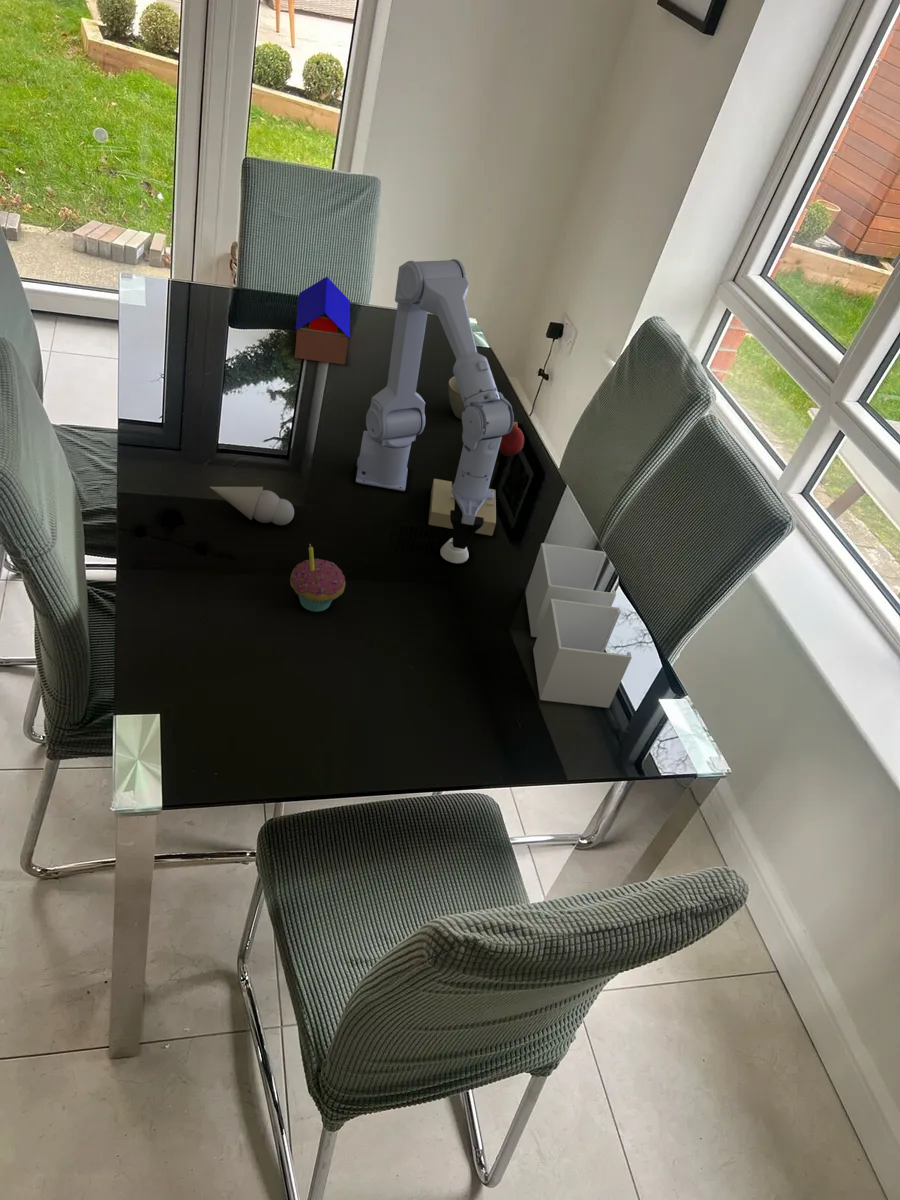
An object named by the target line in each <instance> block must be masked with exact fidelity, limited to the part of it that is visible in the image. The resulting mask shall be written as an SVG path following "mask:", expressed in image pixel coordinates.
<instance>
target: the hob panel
mask: <svg viewBox="0 0 900 1200" xmlns="http://www.w3.org/2000/svg"><path fill="white" fill-rule="evenodd" d="M431 485H432V486H431V491H430V501H429V513H428V523H427V524H428V525H430V526H434V527H440V528H444V529H445V528H446V529H450V530H453V526H452V523H451V520H450V511H451V510H454V507H455V499H454V496H453V494H452V481H449V480H444V479H439V478H433V482H432V484H431ZM488 490H491V491H493V492H494V497H493V500H486V501H485V502H484V504H483V505H482V506H481V508H480V509H479V511H478V512H477V513H476V516H477V517H482V518H484V523H483V525H482V527H481V528H479V529H478V530H477V531H476V532H475V533H474V534H479V535H485V536H491V537H493V535H494V532H495V528H496V524H497V506H496V505H497V503H496V502H497V500H496V499H497V497H496V494H497V493H496V491H497V490H496V489H493V488H490V487H489V488H488Z"/></svg>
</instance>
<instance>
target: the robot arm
mask: <svg viewBox="0 0 900 1200" xmlns="http://www.w3.org/2000/svg"><path fill="white" fill-rule="evenodd" d="M469 286H470V284H469V281H468V275H467V271H466V269H465V266H464V265H463V263H462V262H461V261H460V260H459V259H456V258H453V259H449V260H448V259H447V260H421V261H420V260H419V261H414V260H408V261H406V262H404V263H402V264H401V265H399V267H398V272H397V279H396V287H395V296H394V302H395V303H397V305H396V312H395V313H396V314H395V321H394V330H393V335H392V343H391V351H390V360H389V368H388V375H387V383H386V386H385V387H384V388H383V389H381V390H380V391H378V392H377V393H376V394H375V395H373V396H372V397H371V400H370V405H369V408H368V410H367V412H366V415H365V426H366V430H364V431H363V433H362V438H361V445H360V451H359V456H358V457H357V461H356V467H357V468H356V469H357V470H356V477H355V483H357V484H361V485H368V486H372V487H377V488H384V489H389V490H395V491H399V492H400V491H401V492H405V491H406V488H407V479H408V470H409V468H408V463H409V457H410V451H411V447H412V444H413V443H412V442H415V441H416V439H417V436H419V435H421V434H422V433H423V432H424V429H425V426H426V414H425V406H426V402H425V400H424V399H423V397H422V396H421V395H420V393H418V392H417V386H418V381H419V380H418V379H419V372H420V366H421V361H422V360H421V359H422V352H423V347H424V346H423V345H424V339H425V334H426V333H425V332H426V327H427V326H426V325H427V320H428V319H427V318H428V313H429V314H432V315H434V316H437V317H438V319H439V322H440V324H441V326H442V330H443V331H444V333H445V337H446V338H447V340H448V343H449V345H450V348H451V350H452V353H453V355H454V357H455V363H454V364H453V367H452V373H453V375H454V376H455V379H456V382H457V385H458V388H459V391H460V394H461V397H462V400H463V403H464V407H465V411H464V412H462V420H461V424H462V435H461V439H462V443H463V445H462V449H461V453H460V457H459V462H458V467H457V470H456V476H455V478H454V479H452V481H451V482H452V494H453V496H454V499H455V507H454V510H451V511H450V520H451V523H452V526H453V529H452V538H453V547H455V548H461V549H465V548H466V547H468V545H469V543H470V541H471V539H472V538H473V536H474V535H475V534H476V533H475V532H476V531H477V530H478V529H479V528H481V527H482V525H483V523H484V518H482V517H477V516H476V513H477V512H478V511H479V509H480V508H481V506H482V505H483V504H484V502H485V501H486V500H493V497H494V492H493V491H491V490H488V488H489V489H490V484H491V481H492V476H493V473H494V469H495V465H496V461H497V458H498V453H499V446H500V443H501V439H502V437H501V436H503V435H506V434H508V433H510V431H511V430H512V428H513V424H514V422H515V418H514V417H515V415H514V411H513V406H512V404H511V403H510V401H509V400H508V399H507V398H505V396H504V394H503V393H502V392H501V391H500V392H499V391H498V388H497V385H496V382H495V379H494V375H493V373H492V369H491V367H490V364H489V361H488V358H487V357H486V356H485V355H483V354H481V353H479V352H478V350H477V345H476V341H475V338H474V334H473V329H472V326H471V320H470V316H469V313H468V308H467V304H466V298H467V295H468V293H469ZM454 376H453V377H454Z"/></svg>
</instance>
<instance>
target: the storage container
mask: <svg viewBox="0 0 900 1200" xmlns="http://www.w3.org/2000/svg"><path fill="white" fill-rule="evenodd" d="M606 559H607V553H606V551H601V550H594V549H587V548H580V547H573V546H567V545H558V544H552V543H546V542H541V544H540V546H539V550H538V553H537V556H536V560H535V562H534V565H533V568H532V571H531V574H530V578H529V580H528V584H527V587H526V589H525V599H526V608H527V614H528V616H527V617H528V623H529V629H530V637H532V638H536V639H535V642H534V646H533V647H532V648H533V649H532V653H533V659H534V667H535V674H536V681H537V683H536V684H537V689H538V696H539V697H538V698H539V701H547V702H555V703H564V704H573V705H580V706H589V707H596V708H597V707H598V708H607V709H610V707H611V704H612V702H613V700H614V698H615V696H616V693H617V691H618V689H619V686H620V684H621V682H622V680H623V678H624V676H625V674H626V671H627V669H628V666H629V664H630V663H631V660H632V653H631V651H627V652H626V654H620V653H612V652H605V650H606V648H607V646H608V643H609V641H610V638H611V636H612V634H613V631H614V629H615V627H616V624H617V622H618V619H619V617H620V614H621V608H620V607H619V606H618V607H617V606H613V604H614V602H615V599H616V596H617V593H616V590H615V589H612V590H611V592H610V591H609V592H608V591H601V590H595V587H596V584H597V582H598V579H599V577H600V574H601V571H602V569H603V566H604V564H605V561H606Z"/></svg>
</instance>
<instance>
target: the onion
mask: <svg viewBox="0 0 900 1200" xmlns="http://www.w3.org/2000/svg"><path fill="white" fill-rule="evenodd" d="M501 437H502V439H501V443H500V446H499V450H498V452H500V454H501V455H503V456H504V457H506V458H507V457H512V456H515V455H517V454H518V453H519V452H521V451H522V449H523V448H524V444H525V435H524V433H523V431H522V429H521V428H520V427H519V424H518V422H517V421H514V424H513V428H512V430H511V431H510V433H508V434H506V435H503V436H501Z"/></svg>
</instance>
